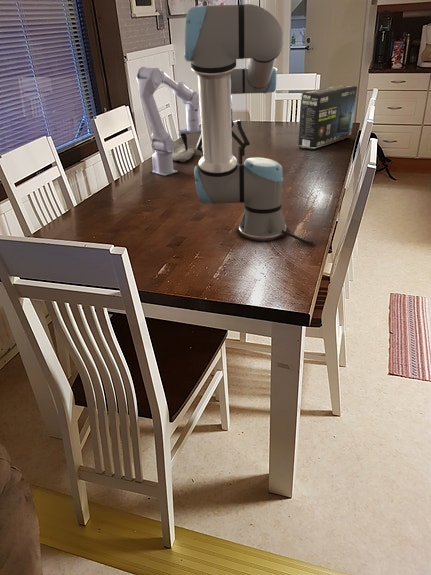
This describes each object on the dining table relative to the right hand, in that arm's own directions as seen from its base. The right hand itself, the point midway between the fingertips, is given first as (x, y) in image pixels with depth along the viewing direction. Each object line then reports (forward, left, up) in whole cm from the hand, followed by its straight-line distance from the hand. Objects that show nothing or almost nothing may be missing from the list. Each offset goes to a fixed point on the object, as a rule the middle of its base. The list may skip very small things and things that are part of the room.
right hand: (223, 166), depth 176 cm
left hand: (+35, -33, -5) cm, 48 cm away
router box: (-10, -93, -11) cm, 94 cm away
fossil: (+47, -37, -11) cm, 61 cm away
